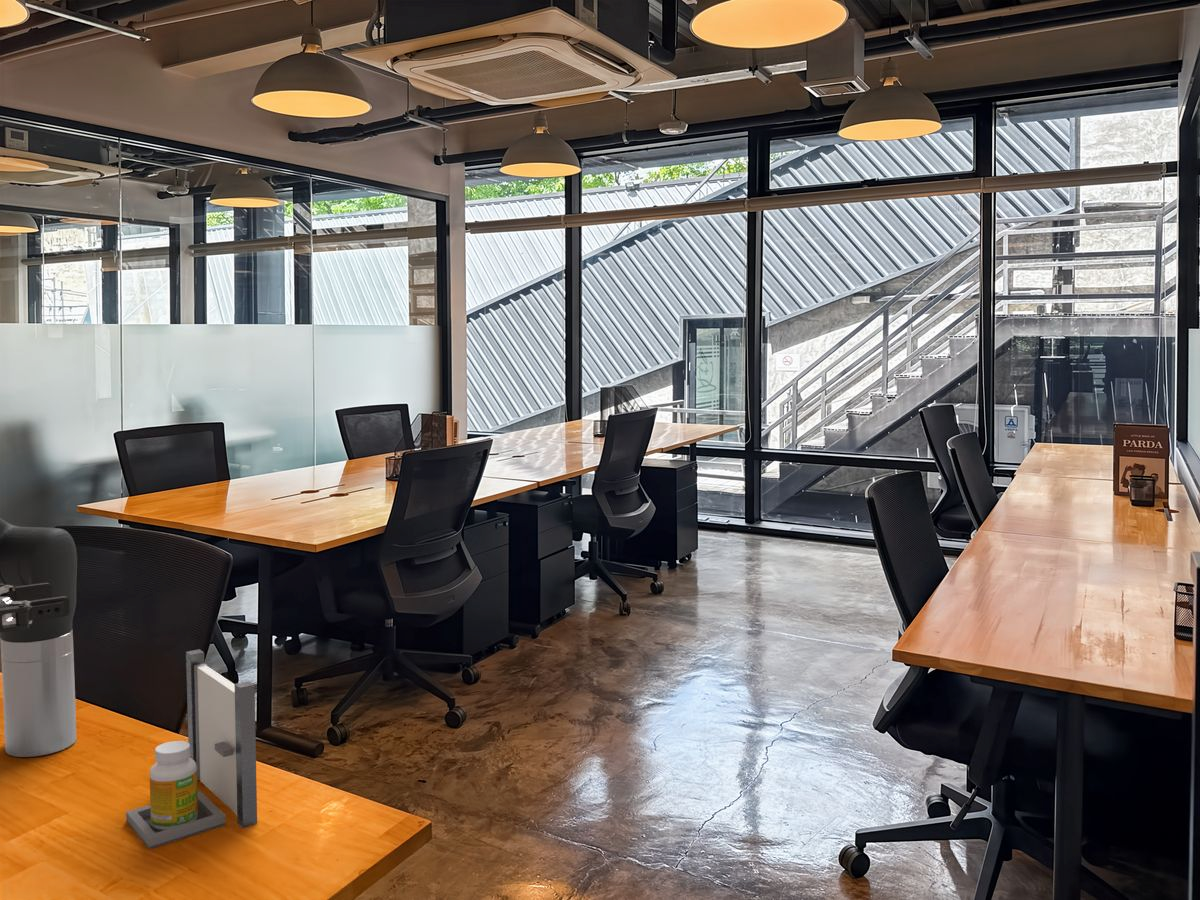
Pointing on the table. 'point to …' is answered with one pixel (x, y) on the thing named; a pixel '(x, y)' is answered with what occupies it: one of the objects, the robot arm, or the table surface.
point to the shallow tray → (153, 838)
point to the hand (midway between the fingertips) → (59, 598)
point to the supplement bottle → (173, 786)
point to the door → (216, 734)
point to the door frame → (243, 739)
